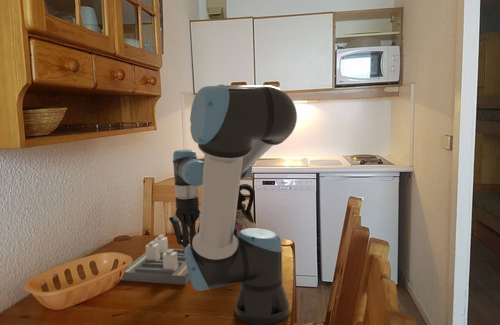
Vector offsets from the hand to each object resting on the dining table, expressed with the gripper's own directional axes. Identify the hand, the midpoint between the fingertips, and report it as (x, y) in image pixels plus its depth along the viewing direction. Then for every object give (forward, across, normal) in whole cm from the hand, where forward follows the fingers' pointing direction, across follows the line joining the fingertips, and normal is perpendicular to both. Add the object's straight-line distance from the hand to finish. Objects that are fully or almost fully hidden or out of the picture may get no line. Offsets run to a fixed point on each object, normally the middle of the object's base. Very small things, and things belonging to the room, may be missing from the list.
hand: (190, 264), depth 125 cm
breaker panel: (+6, +12, -7) cm, 15 cm away
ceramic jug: (+6, -14, -19) cm, 24 cm away
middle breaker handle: (+2, +17, -7) cm, 19 cm away
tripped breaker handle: (+2, +7, 0) cm, 8 cm away
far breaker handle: (+2, +18, -14) cm, 22 cm away
